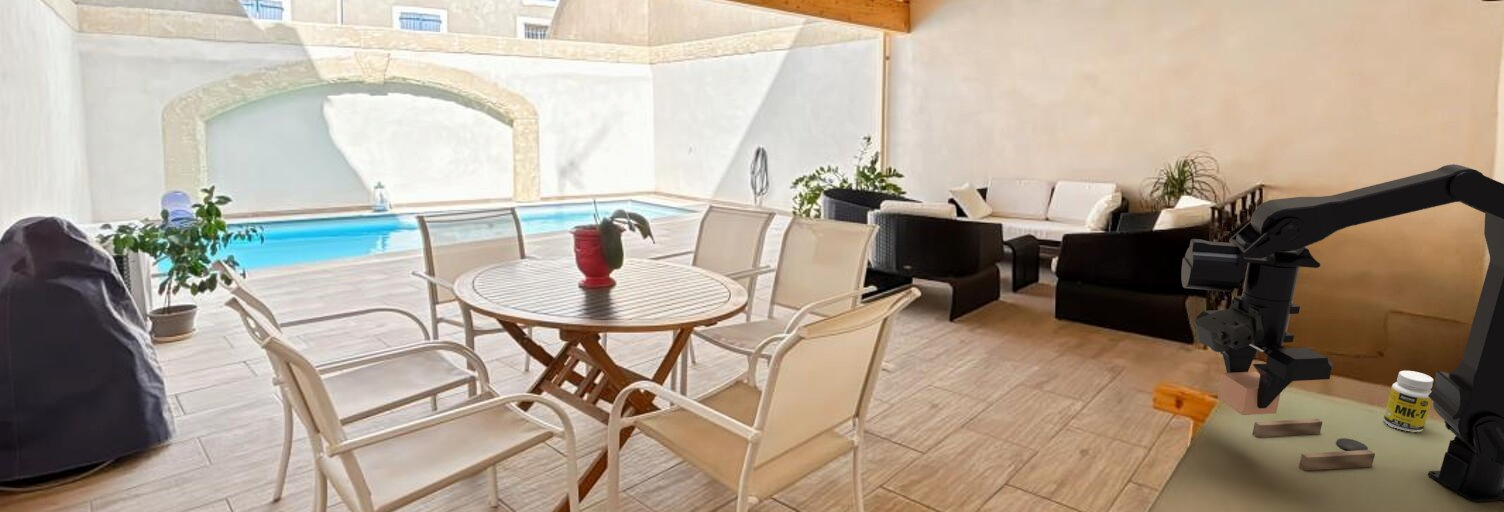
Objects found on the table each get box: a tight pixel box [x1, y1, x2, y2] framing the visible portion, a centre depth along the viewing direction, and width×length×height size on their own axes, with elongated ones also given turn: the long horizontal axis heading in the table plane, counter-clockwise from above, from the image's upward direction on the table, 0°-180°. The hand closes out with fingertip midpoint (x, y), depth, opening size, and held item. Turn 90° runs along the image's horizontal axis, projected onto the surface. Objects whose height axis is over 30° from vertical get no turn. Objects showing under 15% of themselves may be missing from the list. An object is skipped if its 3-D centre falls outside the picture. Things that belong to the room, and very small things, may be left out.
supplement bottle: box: [1383, 370, 1435, 432], centre depth 114 cm, size 5×5×8 cm
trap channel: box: [1252, 418, 1376, 471], centre depth 109 cm, size 13×10×2 cm
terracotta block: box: [1217, 371, 1281, 416], centre depth 105 cm, size 5×5×4 cm
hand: (1247, 398), depth 105 cm, fingers closed on terracotta block, 5 cm apart
